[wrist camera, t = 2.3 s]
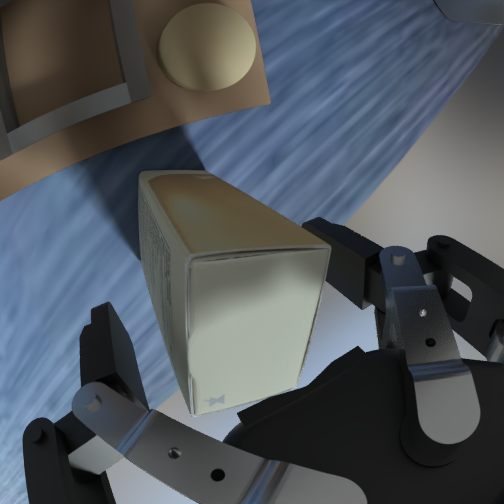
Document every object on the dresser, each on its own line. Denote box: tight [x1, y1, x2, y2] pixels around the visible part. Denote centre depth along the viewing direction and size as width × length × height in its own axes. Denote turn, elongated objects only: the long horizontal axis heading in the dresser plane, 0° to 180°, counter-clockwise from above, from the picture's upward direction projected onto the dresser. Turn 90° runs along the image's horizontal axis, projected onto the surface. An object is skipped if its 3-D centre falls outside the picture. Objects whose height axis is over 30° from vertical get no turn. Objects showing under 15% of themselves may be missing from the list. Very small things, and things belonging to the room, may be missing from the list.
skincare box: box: [138, 170, 331, 417], centre depth 14 cm, size 6×4×12 cm
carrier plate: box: [0, 0, 271, 201], centre depth 11 cm, size 18×12×4 cm, turn 102°
